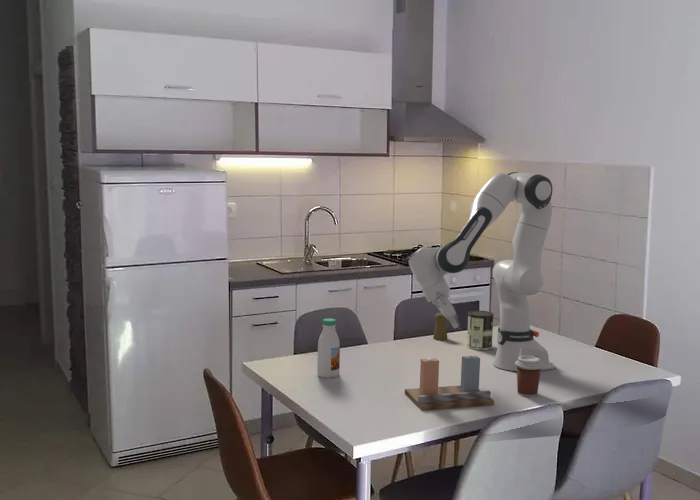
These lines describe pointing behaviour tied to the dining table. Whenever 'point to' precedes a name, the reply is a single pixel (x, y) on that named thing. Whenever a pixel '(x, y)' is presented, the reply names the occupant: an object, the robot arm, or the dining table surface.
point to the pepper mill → (440, 328)
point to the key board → (449, 398)
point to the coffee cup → (528, 375)
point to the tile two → (470, 374)
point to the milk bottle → (328, 350)
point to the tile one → (429, 376)
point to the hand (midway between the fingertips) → (456, 327)
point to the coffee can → (480, 330)
